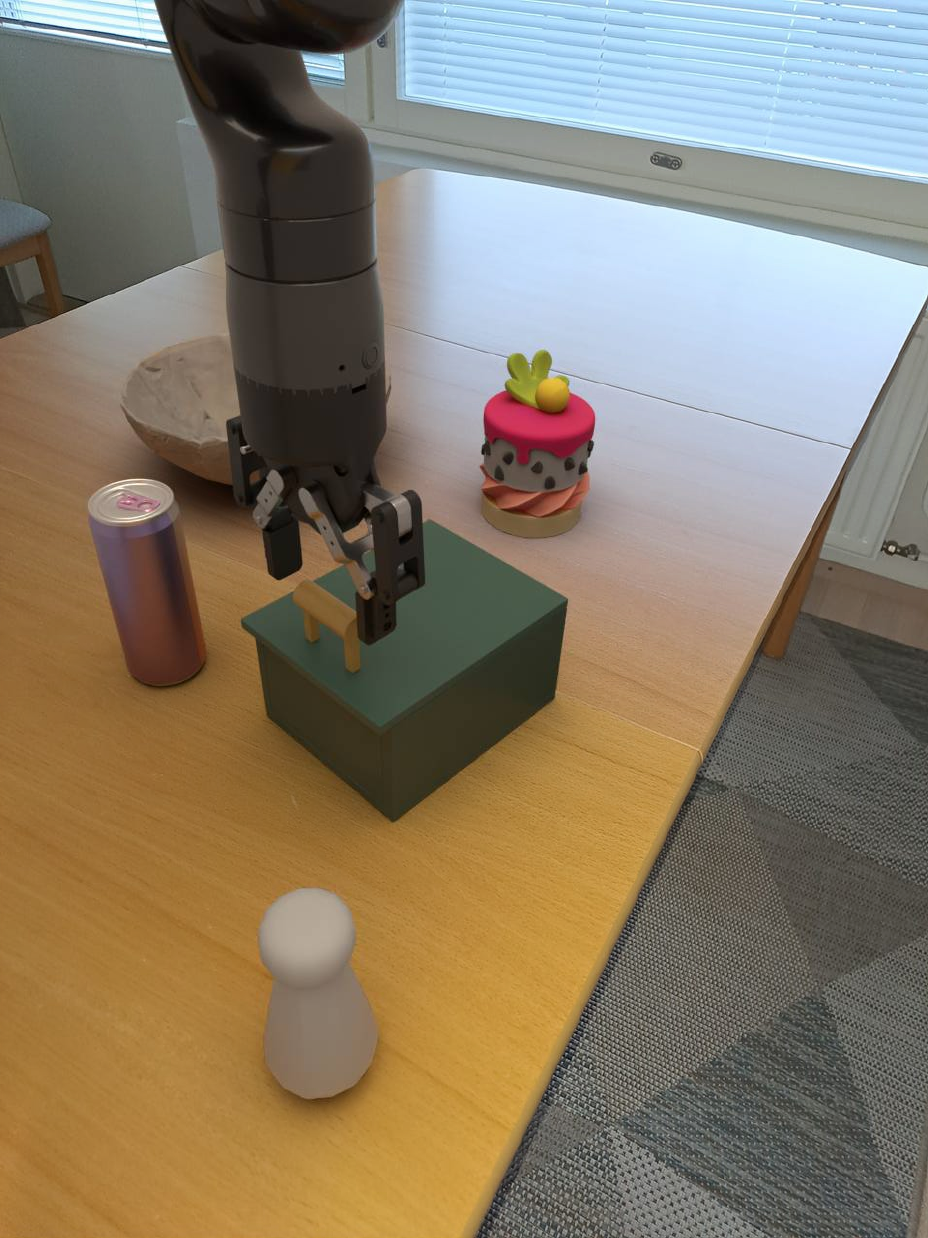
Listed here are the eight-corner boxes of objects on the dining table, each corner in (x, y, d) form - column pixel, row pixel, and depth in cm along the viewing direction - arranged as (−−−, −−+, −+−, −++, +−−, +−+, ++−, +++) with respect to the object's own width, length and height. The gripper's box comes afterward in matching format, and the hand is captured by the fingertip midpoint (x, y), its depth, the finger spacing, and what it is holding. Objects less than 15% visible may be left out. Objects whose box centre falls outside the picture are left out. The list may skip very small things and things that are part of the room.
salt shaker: (389, 1099, 47) (384, 964, 38) (276, 1132, 45) (245, 999, 37) (366, 994, 51) (356, 852, 43) (262, 1021, 50) (232, 880, 41)
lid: (379, 736, 54) (377, 671, 51) (241, 627, 61) (231, 565, 58) (567, 607, 64) (576, 546, 61) (430, 527, 71) (430, 468, 68)
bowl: (79, 496, 89) (53, 402, 83) (229, 388, 108) (217, 305, 102) (317, 561, 82) (309, 463, 76) (432, 434, 102) (433, 347, 95)
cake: (605, 511, 90) (627, 368, 81) (535, 553, 84) (550, 404, 75) (526, 471, 96) (538, 333, 86) (455, 508, 90) (460, 363, 80)
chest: (393, 823, 60) (391, 729, 54) (266, 715, 67) (252, 622, 62) (555, 698, 70) (567, 607, 64) (428, 615, 77) (430, 527, 71)
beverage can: (180, 698, 68) (143, 531, 59) (112, 678, 70) (65, 512, 60) (222, 649, 73) (193, 486, 63) (156, 631, 74) (119, 469, 65)
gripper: (164, 327, 47) (210, 578, 57) (344, 424, 40) (360, 692, 50) (281, 292, 51) (304, 532, 62) (464, 374, 44) (455, 631, 54)
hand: (329, 604), depth 56 cm, fingers open, 8 cm apart
